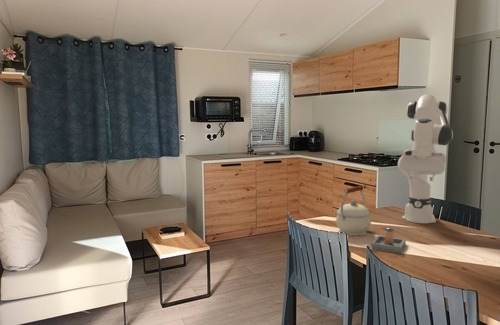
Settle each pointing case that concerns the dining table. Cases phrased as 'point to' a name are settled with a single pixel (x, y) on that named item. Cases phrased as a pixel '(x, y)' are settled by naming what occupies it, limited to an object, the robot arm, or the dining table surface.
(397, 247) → the tray
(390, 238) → the terracotta jar
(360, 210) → the kettle
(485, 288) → the dining table surface
